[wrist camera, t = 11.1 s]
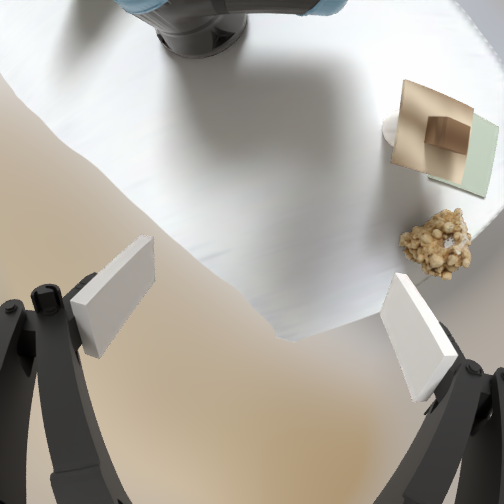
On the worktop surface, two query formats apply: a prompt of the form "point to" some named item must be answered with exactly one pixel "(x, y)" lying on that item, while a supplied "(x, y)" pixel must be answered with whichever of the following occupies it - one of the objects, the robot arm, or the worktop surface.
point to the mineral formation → (439, 244)
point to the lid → (432, 133)
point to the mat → (478, 157)
